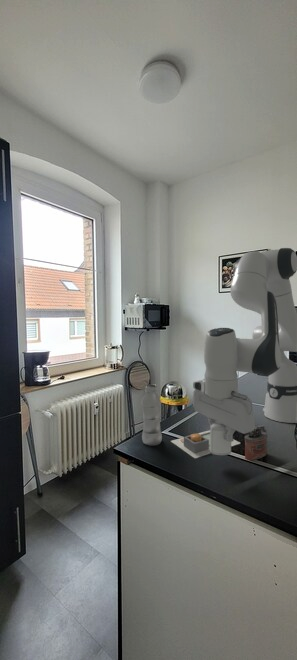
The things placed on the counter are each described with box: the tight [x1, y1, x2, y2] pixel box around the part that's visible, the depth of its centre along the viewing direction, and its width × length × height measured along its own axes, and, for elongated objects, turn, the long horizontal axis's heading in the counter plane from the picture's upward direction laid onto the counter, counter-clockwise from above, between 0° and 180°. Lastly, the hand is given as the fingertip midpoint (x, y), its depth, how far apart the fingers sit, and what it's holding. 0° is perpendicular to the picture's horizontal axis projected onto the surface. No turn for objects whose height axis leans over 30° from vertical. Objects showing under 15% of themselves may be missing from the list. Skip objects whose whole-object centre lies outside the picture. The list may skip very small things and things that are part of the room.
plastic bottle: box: [140, 384, 163, 447], centre depth 91 cm, size 6×7×20 cm
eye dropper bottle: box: [209, 421, 232, 456], centre depth 75 cm, size 4×6×12 cm
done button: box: [190, 433, 202, 442], centre depth 86 cm, size 3×3×2 cm
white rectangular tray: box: [170, 429, 241, 459], centre depth 90 cm, size 19×13×4 cm
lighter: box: [244, 424, 268, 461], centre depth 81 cm, size 8×3×10 cm, turn 117°
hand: (221, 436), depth 75 cm, fingers closed on eye dropper bottle, 4 cm apart
